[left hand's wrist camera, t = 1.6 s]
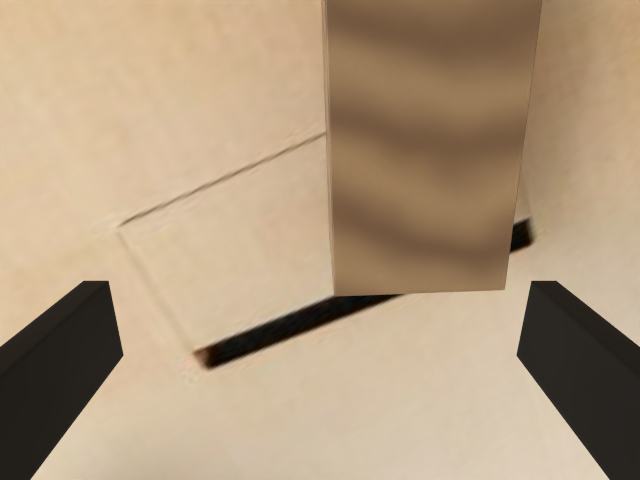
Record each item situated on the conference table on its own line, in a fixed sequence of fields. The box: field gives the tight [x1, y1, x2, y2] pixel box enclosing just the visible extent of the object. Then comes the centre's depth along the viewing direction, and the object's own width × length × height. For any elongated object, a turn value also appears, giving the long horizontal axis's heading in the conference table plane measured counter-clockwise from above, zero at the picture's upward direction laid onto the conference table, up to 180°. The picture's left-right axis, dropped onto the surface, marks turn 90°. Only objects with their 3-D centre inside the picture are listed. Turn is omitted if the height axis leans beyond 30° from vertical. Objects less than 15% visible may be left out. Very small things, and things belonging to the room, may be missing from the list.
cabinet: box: [322, 0, 542, 296], centre depth 26 cm, size 19×10×11 cm, turn 2°
